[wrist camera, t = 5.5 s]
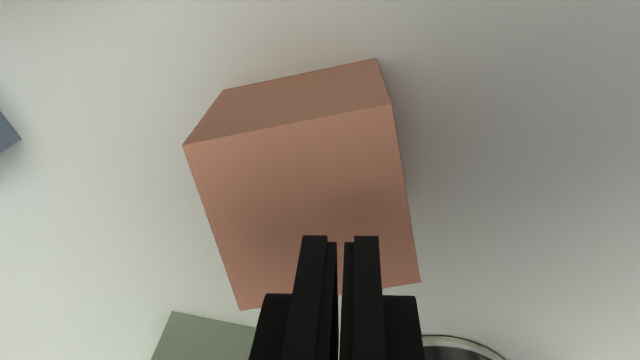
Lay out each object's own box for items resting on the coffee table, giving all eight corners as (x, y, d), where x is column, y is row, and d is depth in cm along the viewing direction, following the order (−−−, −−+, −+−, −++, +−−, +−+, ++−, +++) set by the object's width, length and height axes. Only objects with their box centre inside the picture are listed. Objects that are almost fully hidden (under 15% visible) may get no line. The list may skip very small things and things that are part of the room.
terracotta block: (375, 57, 19) (391, 103, 14) (399, 196, 22) (420, 281, 16) (223, 89, 20) (182, 145, 15) (263, 221, 23) (240, 310, 17)
